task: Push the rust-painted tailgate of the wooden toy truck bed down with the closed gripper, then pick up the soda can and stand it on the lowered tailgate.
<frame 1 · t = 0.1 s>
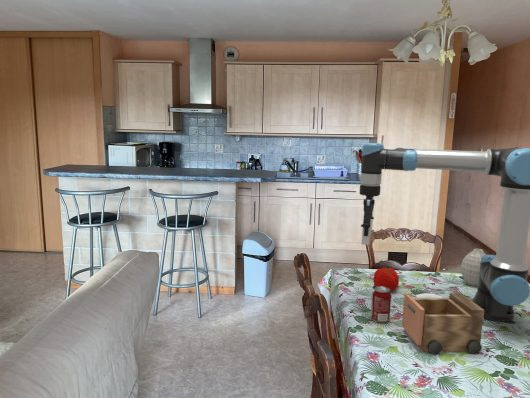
hand: (366, 239, 159), 28 cm above the table, fingers open, 13 cm apart
photo printer: (429, 329, 148), on the table, touching truck
tomato: (385, 289, 185), on the table
soda can: (379, 320, 154), on the table
vase: (474, 284, 194), on the table
truck: (434, 340, 140), on the table
tailgate: (411, 318, 138), point 8 cm above the table, hinge at 0.0°
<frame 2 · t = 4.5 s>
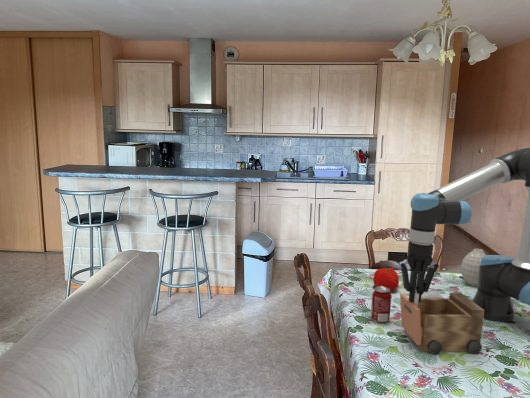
hand: (413, 311, 137), 11 cm above the table, fingers closed
tailgate: (409, 318, 138), point 8 cm above the table, hinge at 7.1°, touching gripper
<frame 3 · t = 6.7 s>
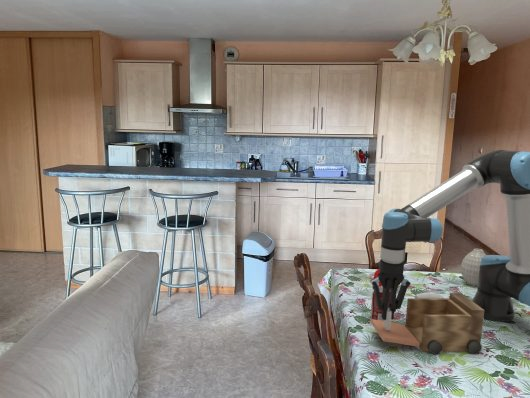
hand: (386, 328, 138), 5 cm above the table, fingers closed
tailgate: (393, 332, 138), point 3 cm above the table, hinge at 80.0°
everything else where it was.
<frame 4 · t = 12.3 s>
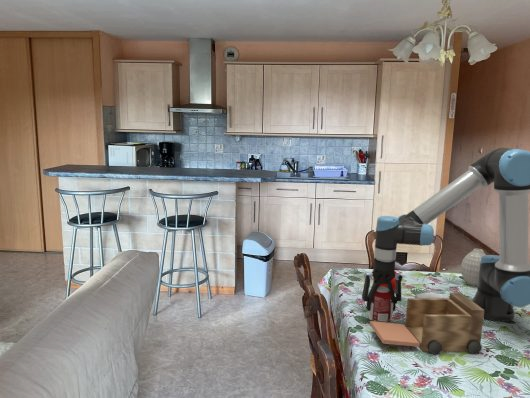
hand: (379, 318, 154), 1 cm above the table, fingers closed on soda can, 7 cm apart
soda can: (379, 320, 154), on the table, touching gripper
tailgate: (393, 333, 138), point 2 cm above the table, hinge at 83.8°
everything else where it was.
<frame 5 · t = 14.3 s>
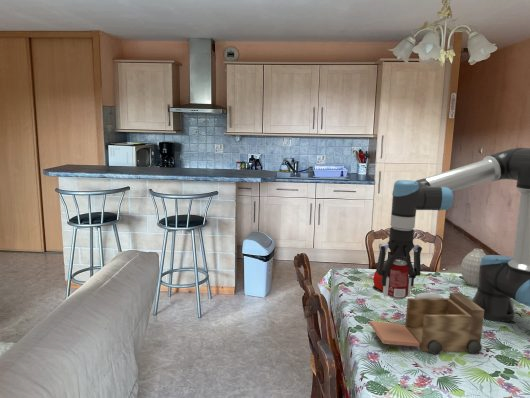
hand: (396, 294, 139), 15 cm above the table, fingers closed on soda can, 7 cm apart
soda can: (395, 297, 139), point 14 cm above the table, touching gripper
everything else where it was.
when the fingers open (5 cm above the table, at t = 16.6 s): soda can drops 2 cm, resting on tailgate.
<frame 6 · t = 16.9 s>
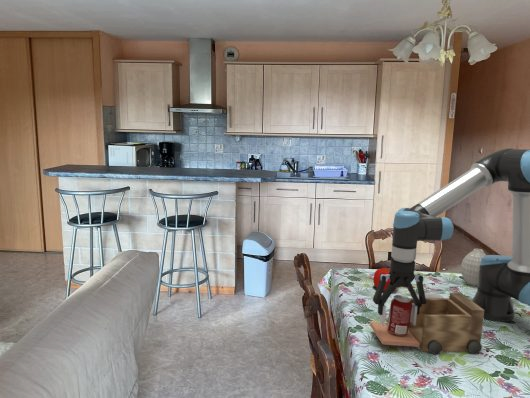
hand: (397, 323, 138), 6 cm above the table, fingers open, 10 cm apart
soda can: (396, 332, 138), point 3 cm above the table, touching tailgate
tailgate: (393, 334, 138), point 2 cm above the table, hinge at 85.5°, touching soda can
everything else where it was.
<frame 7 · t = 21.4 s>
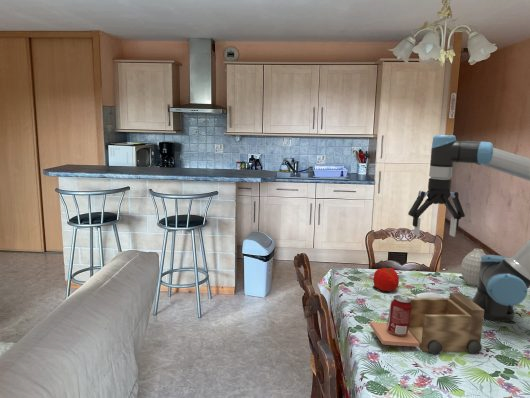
hand: (434, 235, 153), 32 cm above the table, fingers open, 13 cm apart
nothing on the table moved.
at the end: tailgate at +86° (first picture: +0°); soda can tilted 5° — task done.
